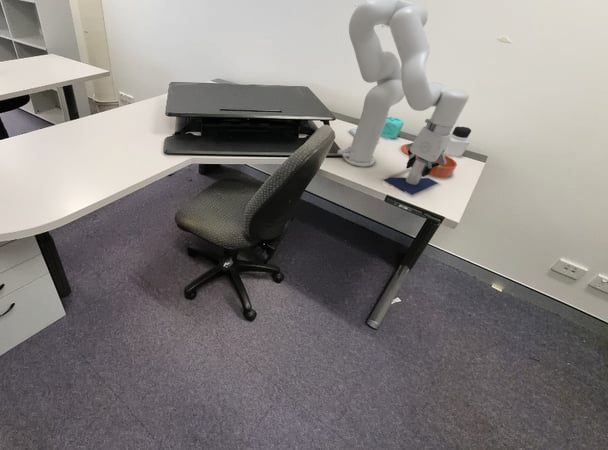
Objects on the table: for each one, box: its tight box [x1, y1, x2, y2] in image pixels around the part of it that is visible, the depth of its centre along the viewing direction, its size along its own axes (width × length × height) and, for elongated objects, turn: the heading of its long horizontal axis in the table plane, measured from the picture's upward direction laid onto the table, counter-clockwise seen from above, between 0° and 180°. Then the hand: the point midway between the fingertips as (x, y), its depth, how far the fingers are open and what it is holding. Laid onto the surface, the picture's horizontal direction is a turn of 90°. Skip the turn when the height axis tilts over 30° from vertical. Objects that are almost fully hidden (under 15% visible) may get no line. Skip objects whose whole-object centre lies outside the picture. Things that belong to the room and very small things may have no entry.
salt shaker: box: [405, 156, 429, 185], centre depth 126 cm, size 5×5×10 cm
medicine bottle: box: [444, 125, 472, 157], centre depth 145 cm, size 7×7×12 cm
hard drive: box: [349, 128, 357, 137], centre depth 158 cm, size 2×8×12 cm
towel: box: [384, 176, 439, 196], centre depth 129 cm, size 17×12×1 cm
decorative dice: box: [380, 116, 404, 140], centre depth 158 cm, size 8×8×8 cm
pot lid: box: [400, 143, 418, 158], centre depth 146 cm, size 13×13×6 cm
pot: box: [427, 154, 458, 179], centre depth 135 cm, size 12×12×5 cm
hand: (416, 171), depth 126 cm, fingers open, 5 cm apart
